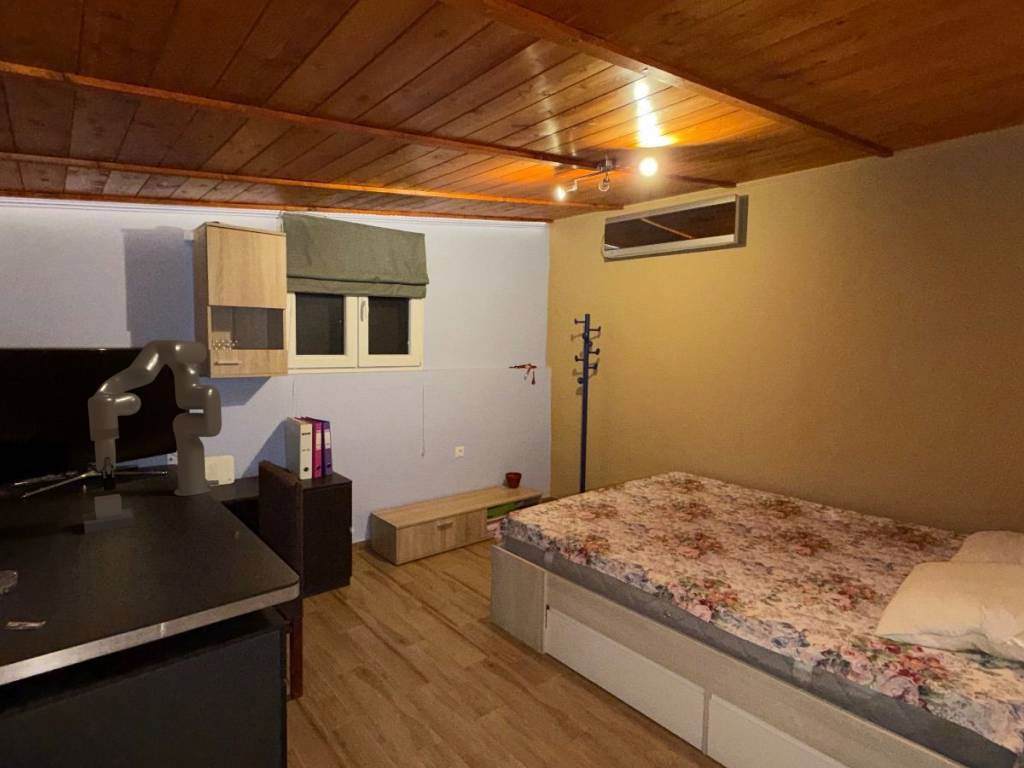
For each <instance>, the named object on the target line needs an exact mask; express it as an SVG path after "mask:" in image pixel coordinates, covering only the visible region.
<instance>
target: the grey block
mask: <svg viewBox="0 0 1024 768" xmlns="http://www.w3.org/2000/svg"><path fill="white" fill-rule="evenodd" d="M82 516H83V517H82V519H83V528H84V534H92V533H99V532H106V531H112V530H118V529H123V528H130V527H135V516H134V514H133V511H132V509H131V508H124V509H123V508H122V516H121V517H114V518H108V519H101V520H96V516H95V512H94V513H90V514H89V513H88V514H83V515H82Z"/></svg>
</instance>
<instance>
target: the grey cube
mask: <svg viewBox="0 0 1024 768" xmlns="http://www.w3.org/2000/svg"><path fill="white" fill-rule="evenodd" d="M122 509H123V508H122V497H121V495H120V493H116V494H109V495H108V494H107V495H100V496H95V497H94V513H95V516H96V520H101V519H108V518H114V517H121V516H122Z"/></svg>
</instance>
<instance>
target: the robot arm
mask: <svg viewBox="0 0 1024 768" xmlns="http://www.w3.org/2000/svg"><path fill="white" fill-rule="evenodd" d="M207 354H208V351H207V348H206V346H205V345H204V344H203V343H202V342H199V341H193V340H191V341H189V340H177V339H176V340H175V339H171V340H164V339H163V340H158V339H157V340H151V341H148V343H146V344H145V345H144V347H143V348H142V350H141V351H140V353H138V355H137V356H136V357H135V359H134V360H133V362H132V363H131V365H130V366H128V367H127V368H125V369H123V370H122V371H120V372H118V373H116V374H114V375H113V376H111V377H109V378H108V379H107V380H105V381H104V382H103V383H102V384H101V385H100V386H99V388H98V389H97V390H96V392H95V393H94V395H93V396H91V397H90V398H88V400H87V408H88V409H87V410H88V420H89V432H90V433H89V435H90V441H93V442H94V453H95V456H94V457H95V467H96V471H97V472H100V477H101V485H102V486H103V487H102V489H103V491H105V492H107V491H114V490H116V489H117V487H116V486H117V485H116V477H115V471H114V470H116V465H117V464H116V462H117V460H116V458H117V457H116V456H117V455H116V454H117V453H116V440H117V439H119V438H120V435H119V433H120V432H119V418H118V417H120V416H131V415H134V414H136V413H137V412H139V410H140V409H141V407H142V401H141V399H140V397H139V396H138V395H136V394H135V393H131V392H127V391H130V390H133V389H136V388H140V387H143V386H146V385H149V384H151V383H152V382H153V381H155V379H156V377H157V376H158V374H159V373H160V371H161V370H162V368H163V367H164V366H165V365H167V366H168V367H169V368H170V370H171V371H172V373H173V378H174V388H175V389H174V390H175V391H174V392H175V402H176V405H177V407H178V408H180V409H182V410H202V412H183V413H180V414H177V415H176V416H175V418H174V419H173V422H172V429H173V433H174V437H175V442H176V455H177V456H176V457H177V459H176V460H177V477H178V479H177V481H178V488H177V489H175V490H174V492H173V494H174V495H175V496H179V497H180V496H181V497H182V496H183V497H185V496H187V497H188V496H196V495H198V496H199V495H202V494H207V493H209V492H210V491H211V486H218V485H220V481H219V479H216V480H214V479H213V480H212V479H211V480H208V479H207V478H206V462H205V461H206V459H205V457H206V456H205V455H206V454H205V445H204V443H203V441H202V440H201V438H214V437H217V436H218V435H219V434H220V433H221V430H222V426H223V418H222V402H221V394H220V391H219V390H218V389H217V388H216V387H215V386H214V385H210V384H207V385H206V384H205V385H203V384H201V383H200V382H201V381H200V373H199V370H198V368H197V367H196V366H195V365H199V364H202V363H203V362H204V361H205V360H206V358H207Z"/></svg>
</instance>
